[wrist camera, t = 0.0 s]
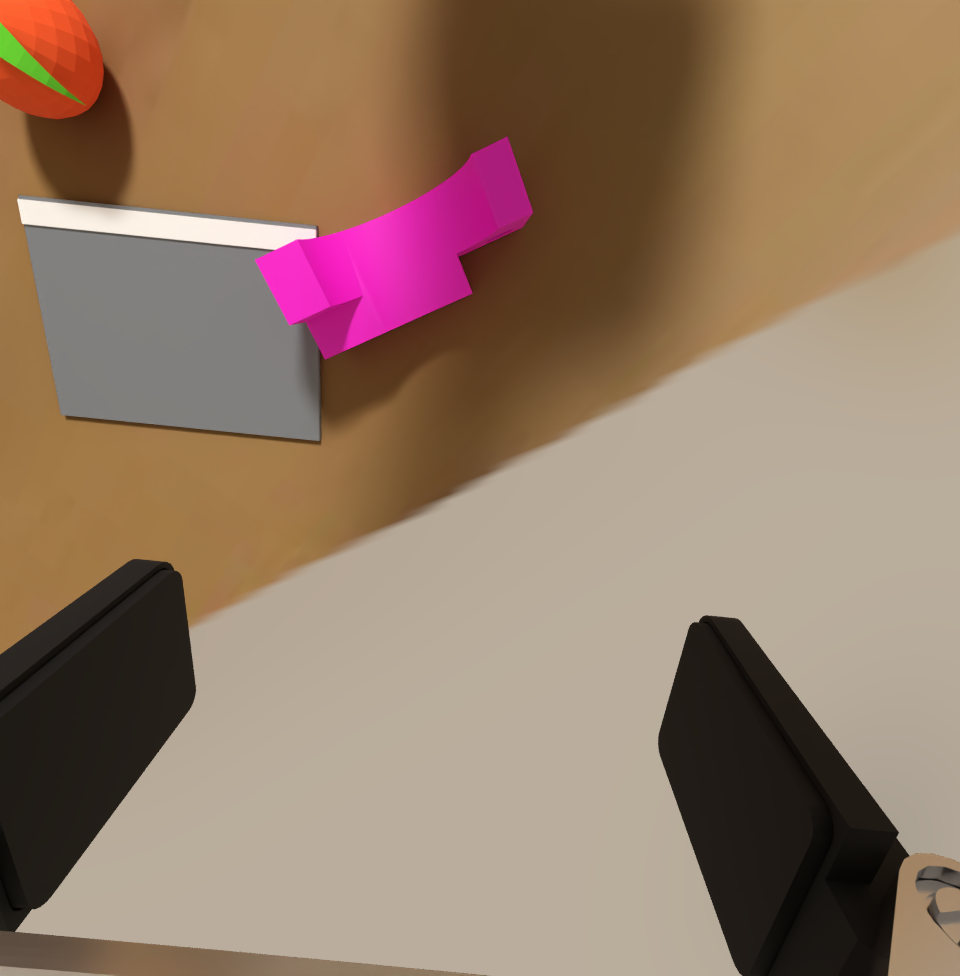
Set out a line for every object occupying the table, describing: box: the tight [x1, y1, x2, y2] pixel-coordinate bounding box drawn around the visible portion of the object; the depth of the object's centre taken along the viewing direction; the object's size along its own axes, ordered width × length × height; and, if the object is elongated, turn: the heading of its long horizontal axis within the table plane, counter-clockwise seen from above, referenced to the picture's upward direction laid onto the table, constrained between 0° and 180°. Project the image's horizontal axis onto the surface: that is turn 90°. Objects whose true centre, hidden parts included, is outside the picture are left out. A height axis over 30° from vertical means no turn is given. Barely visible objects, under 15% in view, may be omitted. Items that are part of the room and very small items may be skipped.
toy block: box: [255, 136, 533, 359], centre depth 32 cm, size 15×6×8 cm, turn 113°
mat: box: [17, 195, 321, 441], centre depth 37 cm, size 15×20×1 cm
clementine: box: [0, 0, 104, 119], centre depth 29 cm, size 8×7×7 cm
